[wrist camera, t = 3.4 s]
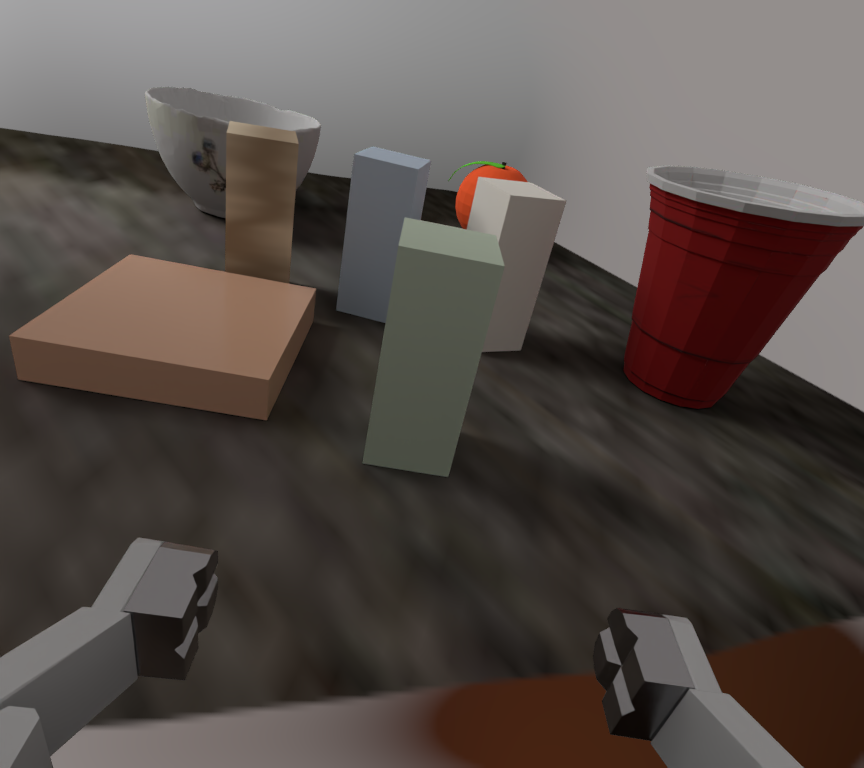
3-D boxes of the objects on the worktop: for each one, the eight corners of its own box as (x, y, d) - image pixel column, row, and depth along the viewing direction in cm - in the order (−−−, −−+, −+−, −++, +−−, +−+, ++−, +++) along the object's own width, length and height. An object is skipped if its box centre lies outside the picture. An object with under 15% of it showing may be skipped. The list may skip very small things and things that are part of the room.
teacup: (305, 246, 43) (314, 133, 39) (126, 219, 41) (116, 96, 37) (319, 196, 56) (327, 107, 52) (184, 174, 53) (181, 78, 49)
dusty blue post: (336, 310, 34) (354, 153, 30) (353, 291, 38) (372, 146, 33) (391, 324, 34) (418, 169, 30) (405, 304, 37) (431, 160, 33)
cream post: (470, 352, 33) (510, 195, 29) (445, 324, 36) (478, 176, 31) (520, 350, 35) (566, 200, 30) (492, 324, 37) (531, 182, 33)
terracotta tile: (17, 379, 23) (8, 335, 22) (133, 288, 32) (130, 254, 31) (266, 420, 24) (268, 380, 23) (313, 321, 33) (316, 288, 32)
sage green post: (362, 463, 23) (398, 245, 18) (371, 414, 26) (404, 217, 21) (448, 477, 23) (504, 266, 19) (447, 427, 26) (496, 235, 22)
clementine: (429, 238, 51) (445, 154, 47) (445, 221, 57) (461, 145, 53) (517, 261, 50) (540, 178, 46) (524, 241, 56) (545, 166, 52)
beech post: (225, 299, 33) (226, 132, 28) (228, 275, 36) (229, 120, 31) (287, 303, 34) (298, 143, 29) (285, 280, 37) (295, 131, 32)
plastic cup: (572, 325, 40) (635, 142, 34) (727, 362, 39) (819, 183, 33) (585, 406, 30) (676, 172, 24) (788, 456, 30) (933, 231, 24)
